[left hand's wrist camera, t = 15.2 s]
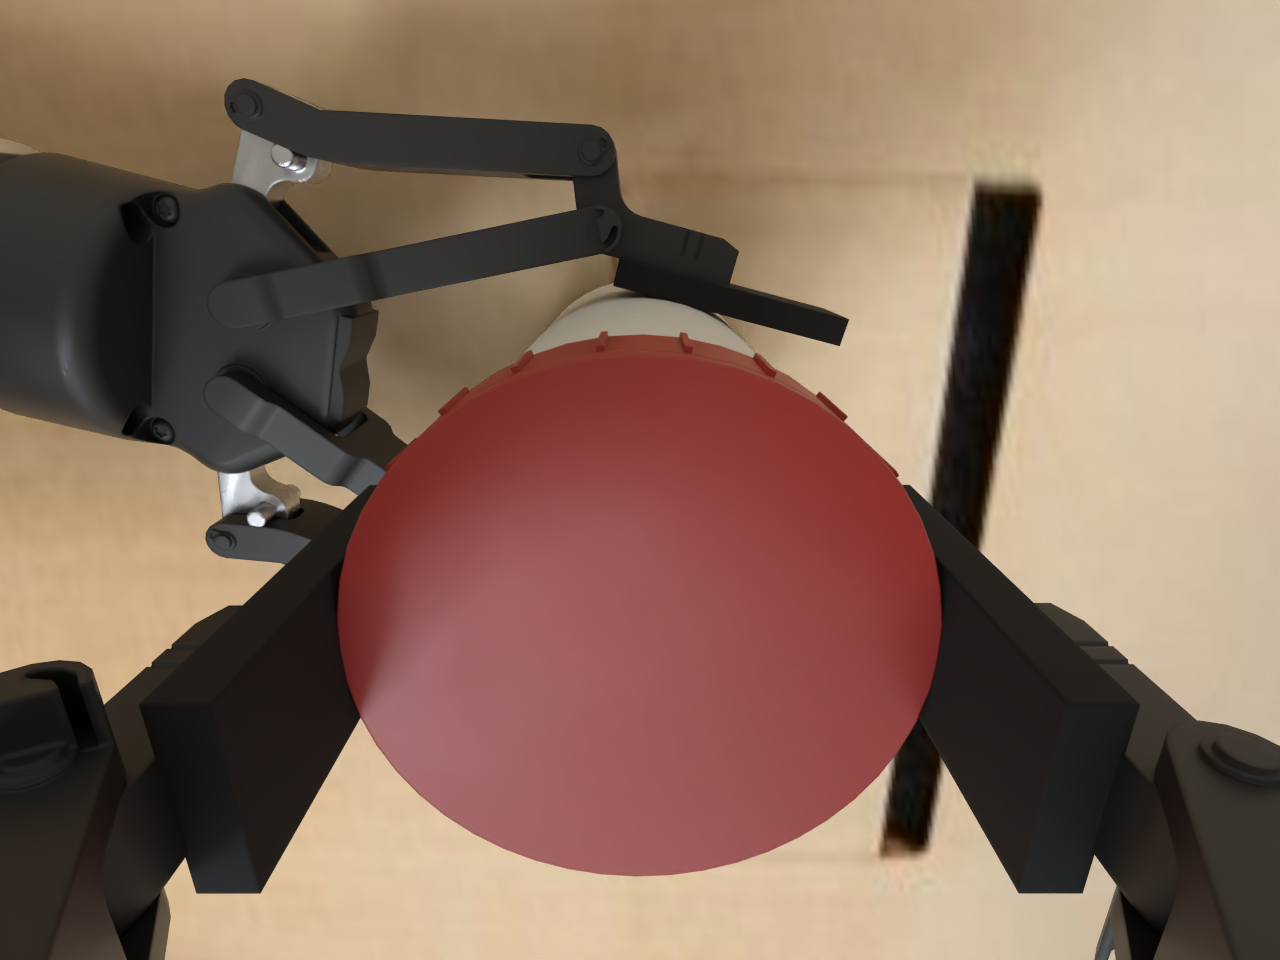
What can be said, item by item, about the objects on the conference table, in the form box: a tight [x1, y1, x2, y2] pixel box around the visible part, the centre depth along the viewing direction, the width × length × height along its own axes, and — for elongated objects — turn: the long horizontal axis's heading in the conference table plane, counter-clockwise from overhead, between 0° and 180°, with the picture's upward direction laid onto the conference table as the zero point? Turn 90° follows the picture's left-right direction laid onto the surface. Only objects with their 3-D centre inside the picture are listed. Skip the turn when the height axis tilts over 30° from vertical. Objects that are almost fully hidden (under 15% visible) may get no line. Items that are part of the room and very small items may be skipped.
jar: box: [515, 283, 755, 363], centre depth 19 cm, size 8×8×17 cm
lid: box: [337, 331, 942, 876], centre depth 11 cm, size 9×9×2 cm
